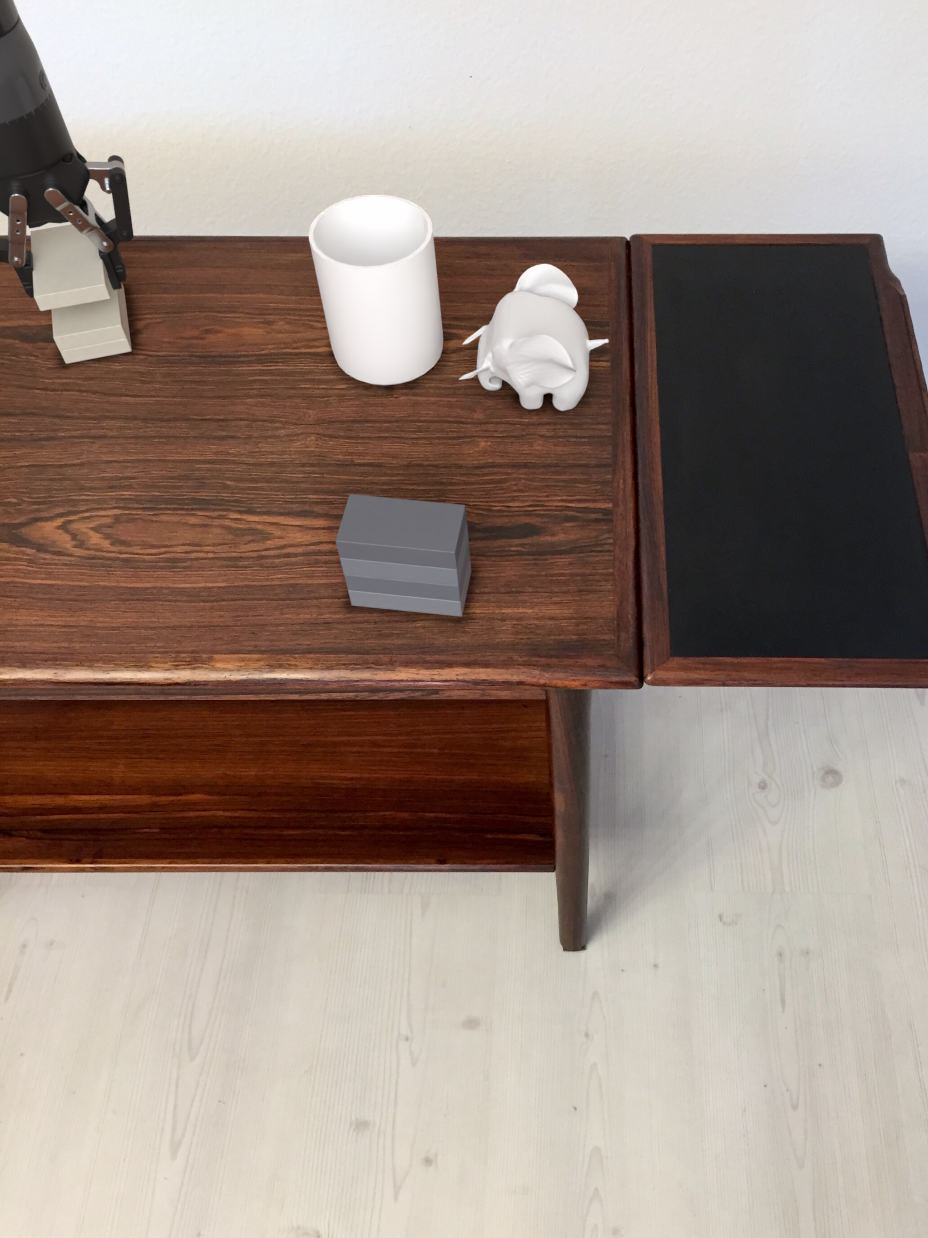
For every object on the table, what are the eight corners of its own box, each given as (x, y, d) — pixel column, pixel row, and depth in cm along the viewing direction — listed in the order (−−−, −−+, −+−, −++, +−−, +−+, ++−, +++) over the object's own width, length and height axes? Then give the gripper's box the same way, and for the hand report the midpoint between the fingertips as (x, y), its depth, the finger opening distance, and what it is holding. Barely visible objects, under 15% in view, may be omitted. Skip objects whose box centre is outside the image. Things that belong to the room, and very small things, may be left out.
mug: (327, 389, 88) (301, 269, 78) (343, 297, 95) (320, 175, 85) (441, 389, 88) (428, 269, 78) (448, 297, 95) (437, 175, 85)
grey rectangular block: (351, 605, 76) (334, 540, 70) (364, 560, 78) (349, 493, 72) (462, 617, 75) (454, 552, 69) (471, 570, 77) (465, 504, 71)
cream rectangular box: (132, 351, 90) (121, 324, 88) (65, 364, 90) (53, 337, 87) (124, 287, 95) (113, 260, 93) (60, 298, 94) (48, 271, 92)
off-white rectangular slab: (36, 245, 90) (30, 230, 89) (103, 234, 91) (97, 219, 90) (40, 311, 85) (33, 296, 84) (110, 298, 86) (104, 284, 85)
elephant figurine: (466, 346, 91) (459, 257, 84) (605, 349, 91) (611, 260, 83) (457, 425, 86) (449, 337, 78) (605, 429, 85) (611, 340, 78)
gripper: (94, 49, 79) (162, 249, 93) (-111, 78, 76) (-9, 278, 90) (101, 102, 75) (171, 302, 89) (-115, 134, 72) (-8, 334, 86)
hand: (80, 289), depth 89 cm, fingers closed on off-white rectangular slab, 5 cm apart
